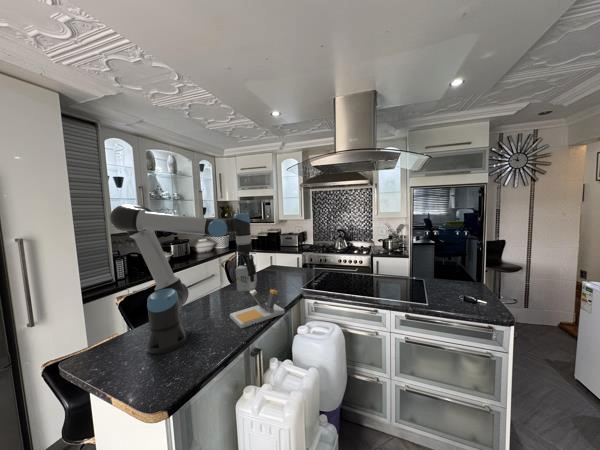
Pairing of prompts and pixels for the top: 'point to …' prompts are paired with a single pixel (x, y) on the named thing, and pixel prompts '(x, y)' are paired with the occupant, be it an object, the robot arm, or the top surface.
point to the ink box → (244, 278)
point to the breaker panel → (255, 315)
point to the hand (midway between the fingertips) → (247, 285)
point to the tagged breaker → (271, 299)
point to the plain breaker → (256, 297)
